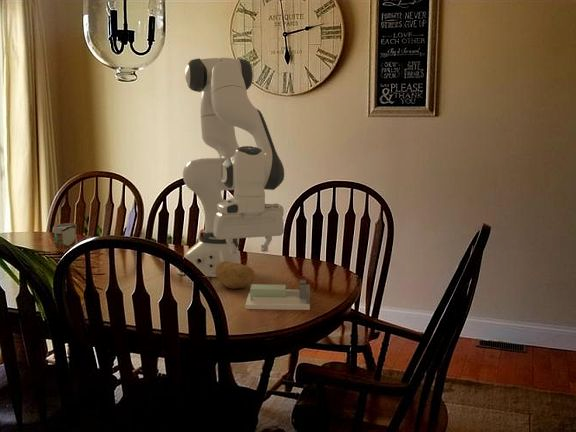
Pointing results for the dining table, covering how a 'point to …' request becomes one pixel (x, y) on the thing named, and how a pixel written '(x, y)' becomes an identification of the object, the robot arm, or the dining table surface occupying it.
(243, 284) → the potato
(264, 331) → the dining table surface
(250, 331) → the dining table surface
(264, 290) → the green block
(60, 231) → the food container
